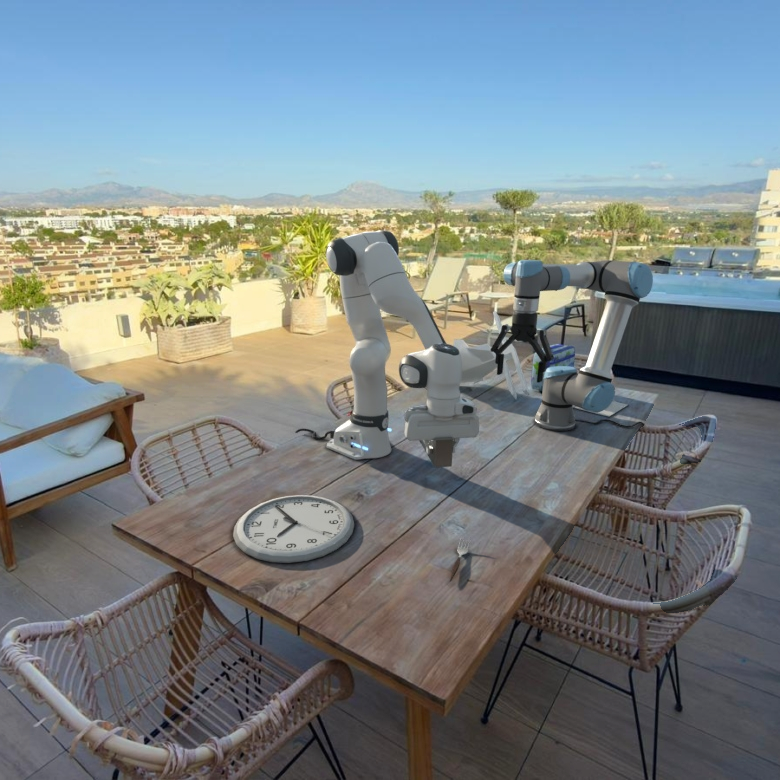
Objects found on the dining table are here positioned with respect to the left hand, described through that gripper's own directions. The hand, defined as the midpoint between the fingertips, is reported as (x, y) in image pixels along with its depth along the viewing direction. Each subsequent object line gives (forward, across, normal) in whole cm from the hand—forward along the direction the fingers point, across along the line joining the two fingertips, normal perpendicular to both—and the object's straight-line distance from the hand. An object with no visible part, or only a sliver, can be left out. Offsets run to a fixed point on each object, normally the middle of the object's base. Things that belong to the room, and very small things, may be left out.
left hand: (440, 452), depth 144 cm
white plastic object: (+14, +45, +94) cm, 105 cm away
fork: (+14, -3, -30) cm, 33 cm away
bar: (+3, 0, +8) cm, 9 cm away
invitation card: (+14, +91, +67) cm, 114 cm away
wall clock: (+14, -40, -9) cm, 43 cm away
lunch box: (+14, +81, +95) cm, 126 cm away
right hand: (-14, +32, +24) cm, 42 cm away
